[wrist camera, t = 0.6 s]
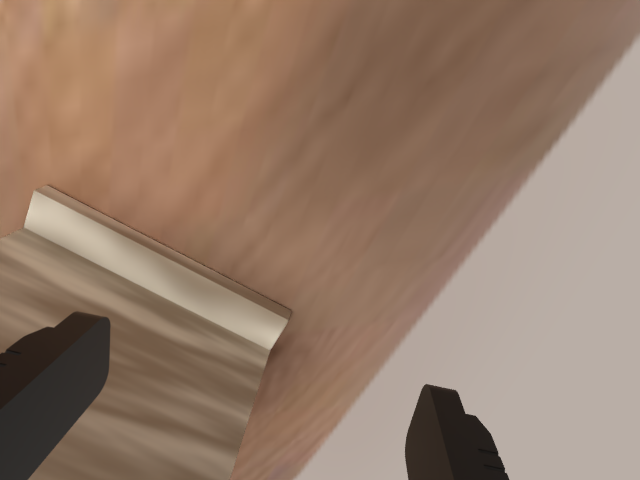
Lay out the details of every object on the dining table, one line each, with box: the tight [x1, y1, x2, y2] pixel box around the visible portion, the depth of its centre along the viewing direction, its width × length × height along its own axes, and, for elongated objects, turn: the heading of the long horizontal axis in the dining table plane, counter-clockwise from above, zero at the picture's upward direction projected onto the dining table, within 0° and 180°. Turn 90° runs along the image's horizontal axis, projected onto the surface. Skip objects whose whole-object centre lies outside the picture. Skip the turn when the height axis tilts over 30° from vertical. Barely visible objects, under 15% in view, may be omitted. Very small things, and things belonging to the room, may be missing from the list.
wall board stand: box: [0, 185, 291, 480], centre depth 25 cm, size 12×22×26 cm, turn 61°
